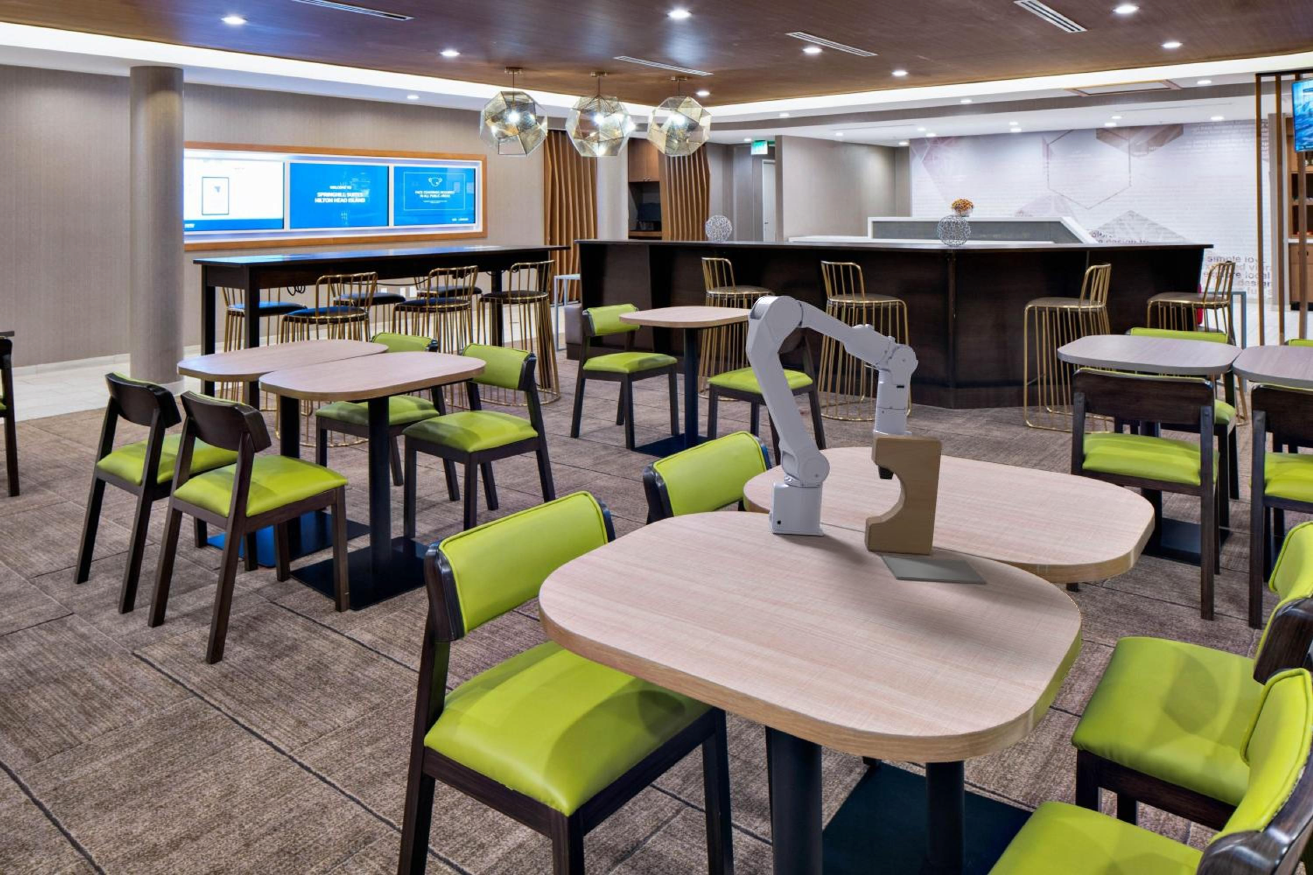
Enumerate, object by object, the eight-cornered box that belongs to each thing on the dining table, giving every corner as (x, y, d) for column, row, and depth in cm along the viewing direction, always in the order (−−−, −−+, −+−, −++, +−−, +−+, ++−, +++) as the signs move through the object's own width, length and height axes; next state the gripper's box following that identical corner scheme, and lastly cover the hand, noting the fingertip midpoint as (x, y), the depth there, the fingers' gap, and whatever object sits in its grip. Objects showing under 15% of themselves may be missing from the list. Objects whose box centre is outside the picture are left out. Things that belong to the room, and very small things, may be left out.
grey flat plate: (896, 578, 148) (896, 576, 148) (881, 558, 160) (881, 555, 160) (986, 584, 148) (986, 581, 148) (964, 562, 160) (965, 560, 160)
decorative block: (866, 551, 164) (876, 437, 161) (863, 542, 170) (872, 433, 167) (932, 556, 163) (942, 441, 160) (926, 547, 169) (937, 437, 166)
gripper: (922, 413, 170) (915, 487, 172) (904, 404, 184) (898, 472, 186) (883, 411, 170) (876, 485, 172) (868, 402, 184) (862, 470, 186)
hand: (885, 478), depth 179 cm, fingers closed
